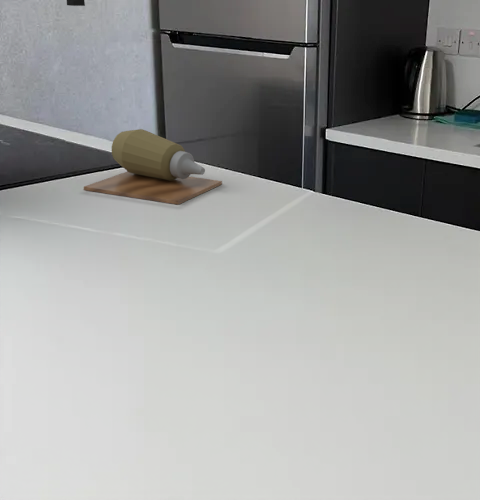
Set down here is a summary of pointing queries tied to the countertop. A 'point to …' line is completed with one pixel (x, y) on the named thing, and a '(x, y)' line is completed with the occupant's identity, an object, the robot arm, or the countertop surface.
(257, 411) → the countertop surface
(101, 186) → the wooden board
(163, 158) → the squeeze bottle
